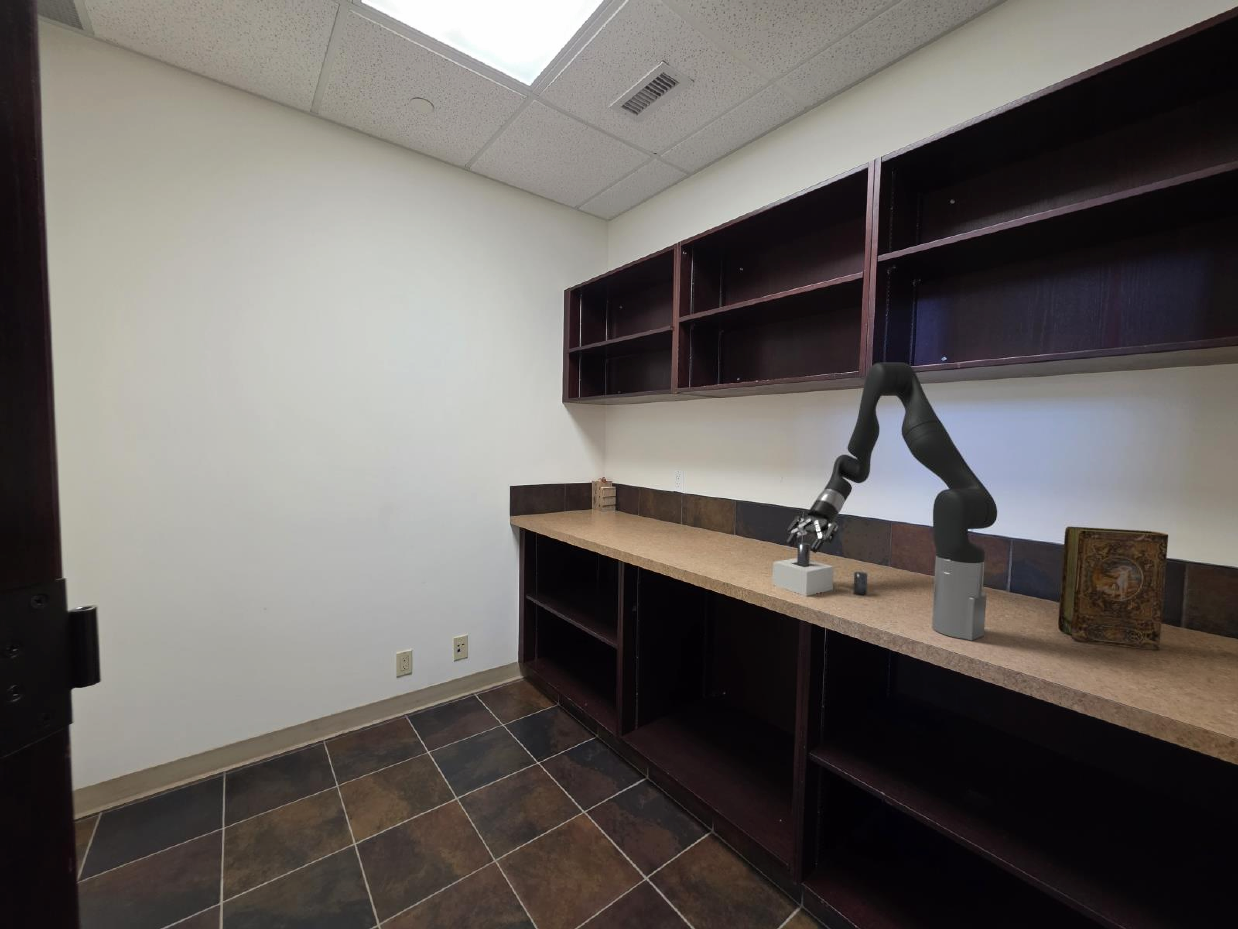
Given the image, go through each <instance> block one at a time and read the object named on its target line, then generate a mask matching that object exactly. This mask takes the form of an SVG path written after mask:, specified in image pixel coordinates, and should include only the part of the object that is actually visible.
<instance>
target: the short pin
mask: <svg viewBox="0 0 1238 929" xmlns="http://www.w3.org/2000/svg"><path fill="white" fill-rule="evenodd" d="M867 591H868V572H865V571H854V573H853V591H852V592H854V593H853V594H854V595H856V596H861V597H863V596H865V597H866V596H867Z"/></svg>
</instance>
